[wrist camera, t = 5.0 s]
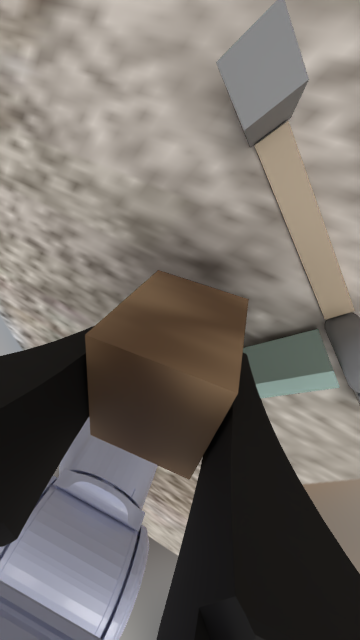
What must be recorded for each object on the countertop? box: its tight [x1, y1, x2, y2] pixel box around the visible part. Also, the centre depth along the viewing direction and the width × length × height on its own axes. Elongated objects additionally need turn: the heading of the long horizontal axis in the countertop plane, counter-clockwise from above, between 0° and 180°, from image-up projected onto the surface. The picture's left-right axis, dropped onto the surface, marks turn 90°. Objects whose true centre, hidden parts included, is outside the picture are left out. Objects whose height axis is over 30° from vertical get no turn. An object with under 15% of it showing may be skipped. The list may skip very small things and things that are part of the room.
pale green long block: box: [243, 329, 340, 398], centre depth 16 cm, size 10×3×4 cm, turn 121°
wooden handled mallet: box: [216, 0, 360, 404], centre depth 12 cm, size 2×21×5 cm, turn 33°
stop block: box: [85, 270, 249, 480], centre depth 9 cm, size 4×5×5 cm
